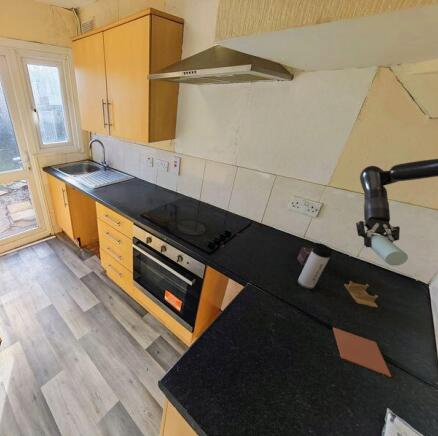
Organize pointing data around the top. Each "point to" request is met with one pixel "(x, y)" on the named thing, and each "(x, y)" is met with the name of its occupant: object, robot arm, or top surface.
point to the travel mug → (314, 265)
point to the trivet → (360, 351)
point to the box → (304, 255)
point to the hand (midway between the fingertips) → (378, 248)
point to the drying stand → (361, 294)
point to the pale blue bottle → (388, 250)
